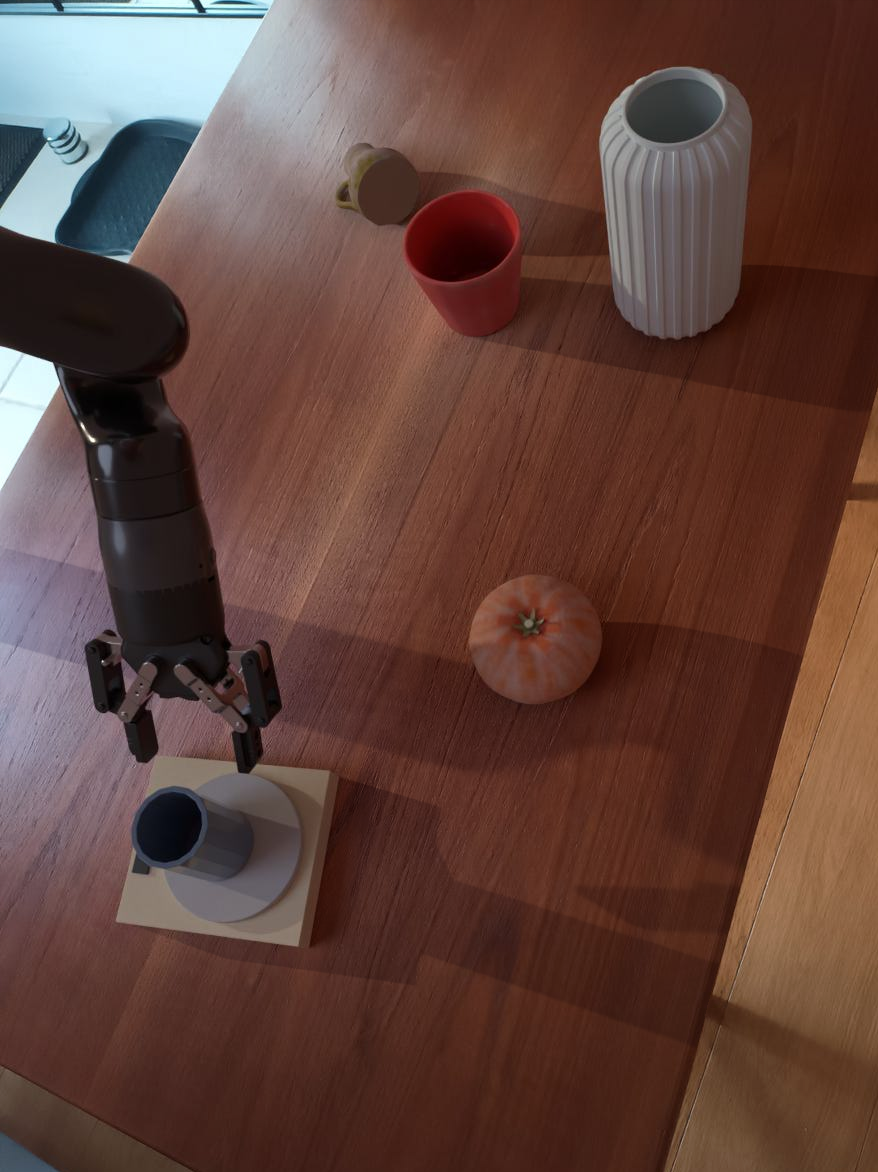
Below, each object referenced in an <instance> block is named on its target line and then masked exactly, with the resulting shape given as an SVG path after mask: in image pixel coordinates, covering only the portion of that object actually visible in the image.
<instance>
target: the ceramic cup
mask: <svg viewBox="0 0 878 1172" xmlns="http://www.w3.org/2000/svg"><path fill="white" fill-rule="evenodd" d="M145 798H146V797H145ZM130 832H131V834H130V835H131V845H132V848H134V849H135V851H136V853H137V855H138V857H139V858H140V859H141V860H143V861H144V862H145V863H146V864H148V865H149V866H151V867H155V868H159V869H162V870H166V871H170V872H174V873H178V874H181V875H185V876H189V877H193V878H197V879H201V880H206V881H210V882H219V881H224V880H227V879H229V878H231V877H233V876H235V875H236V874H237V873H238V872H240V871H241V870H242V869H243V867H244V866H245V865H246V863H247V862H248V860H249V858H250V856H251V853H252V850H253V844H254V836H253V830H252V827H251V825H250V823H249V821H248V820H247V818H246V817H245V816H244V815H243V814H242V813H240V812H239V811H237V810H235V809H234V808H232V807H230V806H227V805H225V804H223V803H221V802H218V801H216V800H214V799H212V798H209V797H207V796H205V795H203V794H200V793H198V792H196V791H193V790H191V789H189V788H185V787H179V786H170V787H166V788H162V789H159V790H157V791H156V792H155V793H153V794H152V795H150V796H149V797H147V798H146V799H144V800H143V801H142V803H141V804H140V806H139V807H138V809H137V810H136V812H135V814H134V817H133V821H132V824H131V828H130Z"/></svg>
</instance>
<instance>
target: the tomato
mask: <svg viewBox="0 0 878 1172" xmlns="http://www.w3.org/2000/svg"><path fill="white" fill-rule="evenodd" d="M469 630H470V631H469V638H468V646H469V653H470V656H471V659H472V662H473V664H474V667H475V670H476V671H477V673H478V674H479V676H480V678H481V679H482V680H483V682H484V683H485V684H486V685H487V686H488V687H489V688H490V689H491V690H492V691H493V692H495V693H497V694H498V695H500V696H502V697H504V698H507V699H509V700H511V701H513V702H517V703H520V704H524V705H525V704H526V705H542V704H546V703H551V702H554V701H557V700H560V699H563V698H566V697H567V696H569V695H571V694H573V693H574V692H576V691H577V690H578V689H579V688H580V687H582V686H583V684H585V682H586V681H587V680H588V679H589V678H590V675H591V674H592V672H593V670H594V669H595V667H596V664H597V663H598V660H599V657H600V655H601V650H602V643H603V631H602V625H601V622H600V619H599V615H598V614H597V612H596V609H595V607H594V606H593V604H592V603H591V602H590V600H589V598H588V597H587V596H586V595H585V594H584V593H583V592H582V591H581V589H579V588H578V587H577V586H575V585H573V584H572V583H570V582H568V581H566V580H563V579H562V578H558V577H555V576H551V575H544V574H526V575H522V576H518V577H515V578H512V579H510V580H508V581H506V582H504V583H502V584H500V585H499V586H497V587H496V588H494V589H493V590H492V591H491V592H489V593H488V594H487V595H486V596H485V597H484V599H483V600H482V602H481V603H480V605H479V606H478V608H477V610H476V612H475V614H474V617H473V619H472V622H471V626H470V629H469Z"/></svg>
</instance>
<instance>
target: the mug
mask: <svg viewBox="0 0 878 1172" xmlns="http://www.w3.org/2000/svg"><path fill="white" fill-rule="evenodd" d="M342 165H343V171H344V172H345V173H346V175H347V177H348V178H347V179H346V180H344V181H342V182H341V183H340V184H339V185H338V187H337V188H336V191H335V193H334V196H333V201H334V203H335V205H336V206H337V207H338V208H341V209H344V210H352V211H355V212H357V213H358V214H359V215H361V216H362V217H363V218H365V219H366V220H367V221H370V223H373V224H374V225H376V226H378V227H384V226H390V225H396V224H399V223H400V222H402V221H403V220H405V219H406V218H407V217H408V216H409V215H410V214H411V212H412V211H413V210H414V208H415V206H416V203H417V201H418V198H419V193H420V185H421V182H420V177H419V174H418V172H417V169H416V168H415V166H414V164H412V162H411V161H410V160H409V159H408V157H407V156H406V155H404V154H403V153H402V152H400V151H398V150H396V149H394V148H389V147H374V146H373V145H372V144H370V143H369V142H358V143H355V144H353V145H351V146H350V147H349V148H348V149H347V151H346V152H345V154H344V157H343V163H342ZM347 189H348V192H349V193H348V194H349V197H350V200H351V201H343V200H342V196H343V195H344V194H345V192H346V191H347Z"/></svg>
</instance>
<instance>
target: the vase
mask: <svg viewBox="0 0 878 1172" xmlns="http://www.w3.org/2000/svg"><path fill="white" fill-rule="evenodd" d="M752 137H753V120H752V115H751V113H750V107H749V105H748V103H747V101H746V98H745V97H744V96H743V95H742V93H741V92H740V90H739V88H737V86H736V85H735V84H733V83H732V82H731V81H728V80H727V79H726V77H725V76H723V75H721V74H719V73H712V71H711V70H709V69H706V68H702V67H701V68H698V67H693V66H688V65H687V66H671V67H667V68H663V69H660V70H659V69H658V70H656V71H653V72H652V73H651V74H648V75H647V76H645V75H644V76H642V77H640V78H639V79H636V81H635V83H633V84H630V85H629V86H627V87H626V88H624V90H623V91H622V92H621V93H620V94H619V96H618V97H616V98H615V100H614V101H613V102H612V103H611V105H610V106H609V109H608V111H607V113H606V115H605V116H604V118H603V120H602V124H601V126H600V135H599V142H598V144H599V147H598V148H599V159H600V168H601V178H602V179H601V180H602V190H603V198H604V199H603V200H604V208H605V221H606V228H607V229H606V230H607V240H608V250H609V260H610V271H611V282H612V291H613V296H614V302H615V305H616V307H617V309H618V310H619V311H620V314H621V316H622V318H623V319H624V320H625V321H626V322H628V323H630V325H631V327H632V328H633V329H635V330H636V331H639V332H640V331H641V332H643V334H644V335H646V336H648V337H658V339H660V340H667V339H674V340H677V341H678V340H681V339H682V338H684V337H689V338H692V337H697V335H698V333H705V332H707V331H709V330H711V328H712V327H713V325H717V324H719V323H720V322H721V321H722V320H723V319H724V318H725V315H726V314H727V313H729V312H730V311H731V309H732V307H734V304H735V299H736V298H737V297H738V294H739V290H740V286H741V285H740V284H741V275H742V261H743V249H744V237H745V224H746V213H747V212H746V211H747V200H748V190H749V189H748V188H749V187H748V186H749V174H750V163H751V152H752V151H751V150H752Z"/></svg>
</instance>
